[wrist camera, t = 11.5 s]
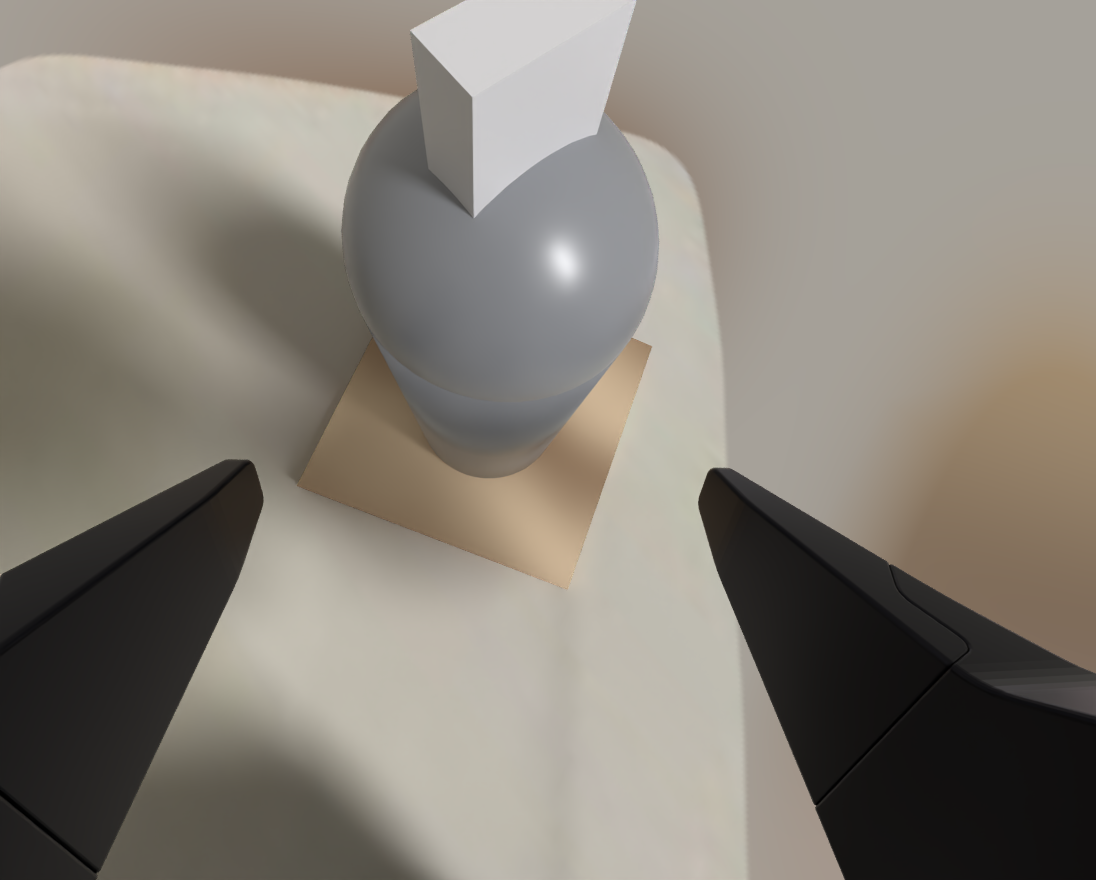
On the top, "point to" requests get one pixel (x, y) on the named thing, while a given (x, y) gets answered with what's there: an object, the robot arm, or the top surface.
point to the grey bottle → (502, 227)
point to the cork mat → (465, 501)
